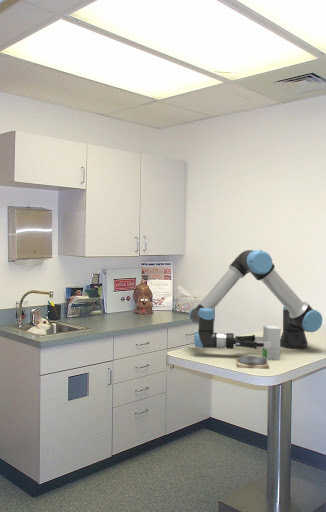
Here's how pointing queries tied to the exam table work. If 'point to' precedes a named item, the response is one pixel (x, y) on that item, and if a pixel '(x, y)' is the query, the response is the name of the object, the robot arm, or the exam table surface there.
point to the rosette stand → (252, 362)
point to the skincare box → (271, 335)
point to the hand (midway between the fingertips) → (269, 342)
